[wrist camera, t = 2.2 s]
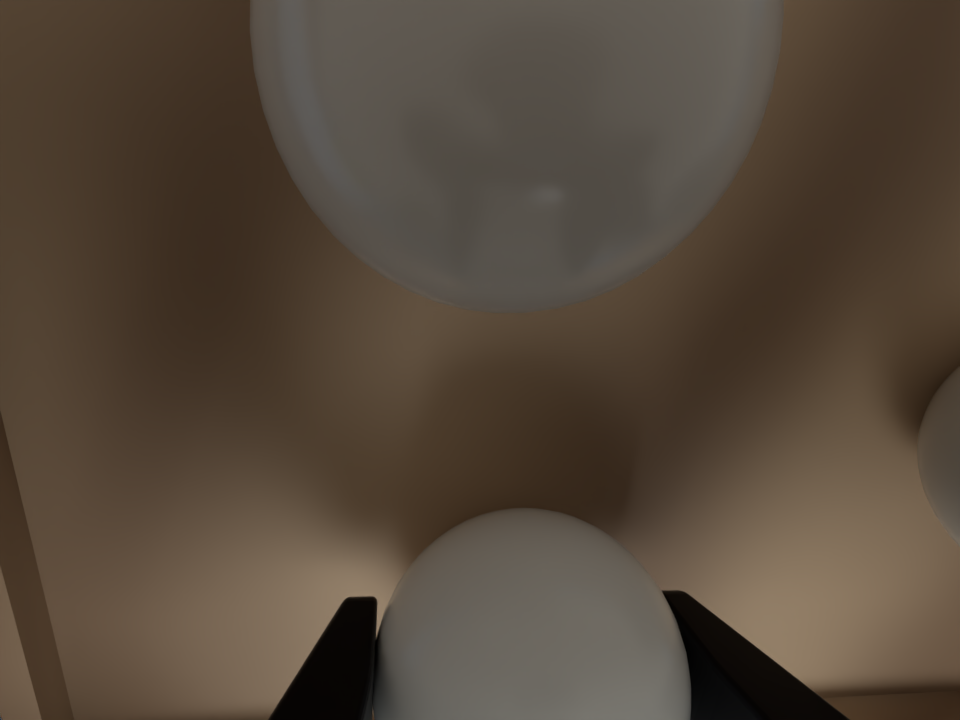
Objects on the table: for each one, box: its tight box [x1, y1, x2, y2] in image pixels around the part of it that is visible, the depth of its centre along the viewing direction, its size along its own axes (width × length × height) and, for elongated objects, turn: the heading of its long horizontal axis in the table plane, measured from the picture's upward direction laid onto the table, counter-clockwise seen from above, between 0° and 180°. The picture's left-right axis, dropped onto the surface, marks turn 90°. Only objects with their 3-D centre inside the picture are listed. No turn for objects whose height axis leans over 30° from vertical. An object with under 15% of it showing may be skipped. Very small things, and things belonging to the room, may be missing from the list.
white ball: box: [372, 508, 691, 720], centre depth 7 cm, size 4×4×4 cm
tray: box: [0, 0, 960, 720], centre depth 8 cm, size 20×14×1 cm
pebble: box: [250, 0, 784, 313], centre depth 4 cm, size 4×4×4 cm
